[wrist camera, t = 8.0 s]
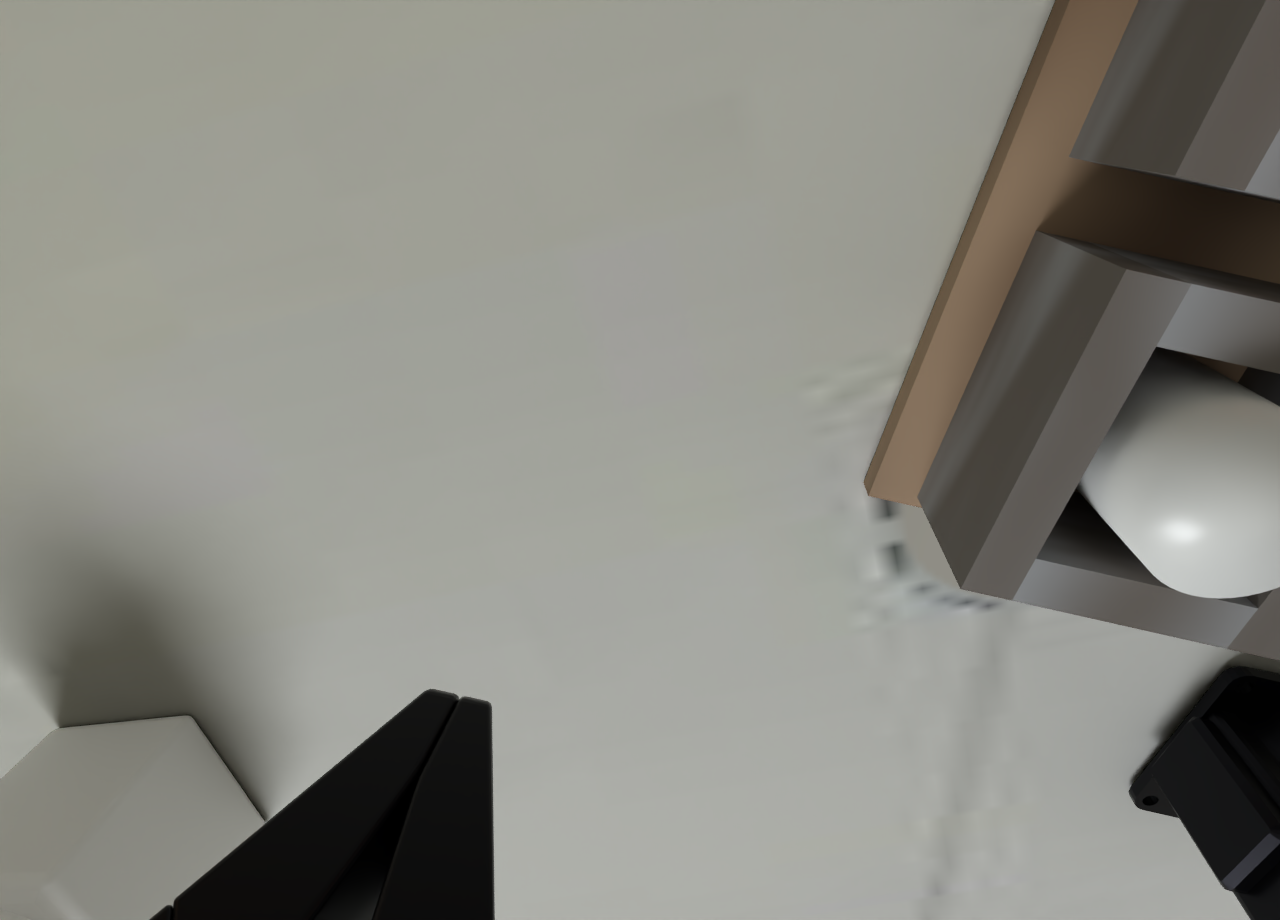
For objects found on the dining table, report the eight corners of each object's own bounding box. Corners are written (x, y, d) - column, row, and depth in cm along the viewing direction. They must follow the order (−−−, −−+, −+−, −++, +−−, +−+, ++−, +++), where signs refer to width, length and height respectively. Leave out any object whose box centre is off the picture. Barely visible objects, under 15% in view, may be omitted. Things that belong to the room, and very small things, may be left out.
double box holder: (1728, -199, 13) (2264, -357, 8) (1197, 556, 21) (1325, 682, 16) (1181, -315, 13) (1422, -534, 8) (863, 482, 21) (900, 586, 16)
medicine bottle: (54, 724, 30) (-311, 1063, 20) (192, 710, 29) (-119, 1067, 18) (142, 832, 33) (-132, 1177, 23) (272, 824, 32) (44, 1188, 21)
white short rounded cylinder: (1236, 359, 17) (1418, 453, 12) (1152, 493, 19) (1285, 615, 14) (1081, 324, 17) (1206, 405, 12) (1012, 461, 19) (1100, 575, 14)
